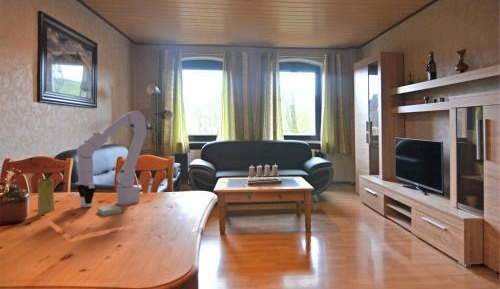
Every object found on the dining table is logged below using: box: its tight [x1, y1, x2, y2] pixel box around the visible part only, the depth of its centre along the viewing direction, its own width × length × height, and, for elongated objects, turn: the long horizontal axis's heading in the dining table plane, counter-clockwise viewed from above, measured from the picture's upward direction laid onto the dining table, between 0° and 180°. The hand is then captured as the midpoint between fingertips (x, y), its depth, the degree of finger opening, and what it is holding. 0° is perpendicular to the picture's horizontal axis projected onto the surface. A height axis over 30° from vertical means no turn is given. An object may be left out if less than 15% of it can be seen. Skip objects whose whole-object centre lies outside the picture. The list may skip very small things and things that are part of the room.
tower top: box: [97, 204, 122, 217], centre depth 129 cm, size 7×7×2 cm
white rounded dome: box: [79, 196, 94, 208], centre depth 138 cm, size 5×5×4 cm
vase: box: [36, 178, 55, 217], centre depth 131 cm, size 6×6×14 cm
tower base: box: [96, 211, 124, 218], centre depth 129 cm, size 8×8×2 cm
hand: (86, 202), depth 138 cm, fingers closed on white rounded dome, 5 cm apart
